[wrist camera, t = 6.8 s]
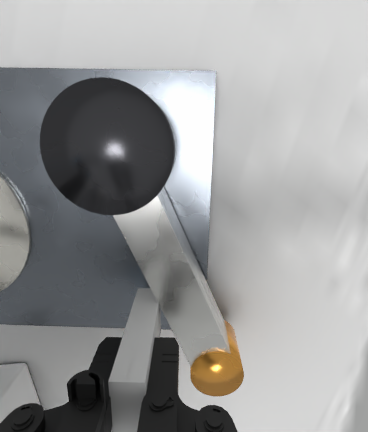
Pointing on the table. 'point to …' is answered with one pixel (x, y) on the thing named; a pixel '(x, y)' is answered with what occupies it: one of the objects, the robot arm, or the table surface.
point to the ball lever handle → (140, 210)
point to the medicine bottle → (15, 388)
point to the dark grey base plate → (82, 219)
